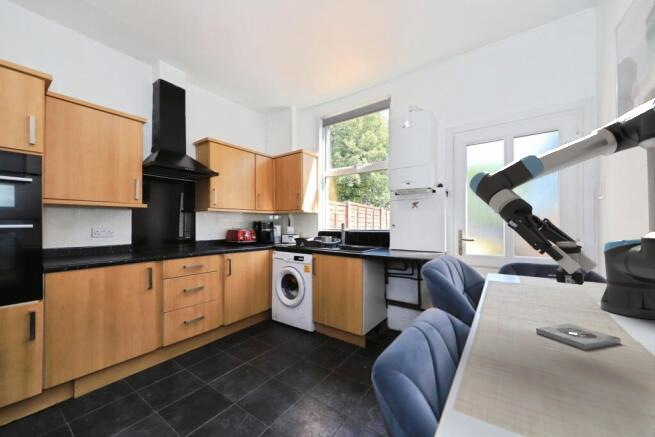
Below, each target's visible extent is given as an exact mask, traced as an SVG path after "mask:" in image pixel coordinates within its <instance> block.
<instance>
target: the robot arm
mask: <svg viewBox="0 0 655 437" xmlns="http://www.w3.org/2000/svg"><path fill="white" fill-rule="evenodd" d="M638 147H639V148H642V149H644V150H645V151H646V162H647V165H646V167H647V168H646V169H647V199H648V200H647V203H648V204H647V205H648V232H647V233H646V234H644V235H642V236H641V237H640V238H635V239H634V238H633V239H618V240H611V241H608V242H606V243H604V248H603V255H604V265H605V266H604V267H605V276H606V279H605V280H606V287H605V289H604V291H603V294H602V297H601V299H600V302H599V303H600V308H601V309H602V310H604V311H606V312H609V313H614V314H617V315H621V316H627V317H632V318H639V319H647V320H655V98H653V99H651V100H648V101H647V102H644V103H643V104H642V105H640V106H638V107H636V108H634V109H632V110H630V111H628V112H626V113H625V114H623V115H622V116H620V117H618V118H617V119H615V120H613V121H612V122H610V123H608V124H606V125H604V126H602V127H599V128H597V129H595V130H593V131H592V132H591V133H590V134H589V135H587V136H585V137H582V138H579V139H577V140H575V141H572V142H570V143H567V144H564V145H562V146H559V147H558V148H555V149H552V150H549V151H547V152H545V153H541V154H539V155H535V154H532V153H528V154H525V155H523V156H522V157H519V158H518V159H516V160H514V161H512V162H511V163H509V164H507V165H505V166H504V167H502V168H500V169H499V170H497V171H494V172H493V173H491V172H489V171H486V170H483V171H480V172H477V173H476V174H474V176H473V177H471V179H470V181H469V188H470V190H471V191H472V192H473V193H474V194H475V196H477V197H478V198H479V199H480V200H481V201H482V202H484V203H485V204H486V205H487V206H489V208H491V209H492V210H493V213H494V214H497V215H498V216H500V218H501V219H502V220H503V221H504V222H505V223H507V227H509V228H510V229H512V230H513V231H514V232H515V233H517V234H518V235H519V236H520V237H521V238H522V239H523V240H524V241H525V242H526V243H527V244H528V245H529V246H530V247H531V248H532V249H533V250H535V251H537V252H538V254H541V255H544V254H545V253H546V254H547V255H548V257H550V258H551V259H552V260H554V261H555V262H556V263H557V264H558V266H559V265H560V266H561V267H562V268H564V269H565V270H566V271H567V272H568V273H569V274H572V273H574V272H575V271H576V270H577V269H581V270H583V271H585V272H586V273H590V272H591V271H592V270H594V269H596V268H597V267H598V266H599V264H598V263H596V262H595V261H594V260H593V259H591V258H590V257H589V256H588V255H586V254H585V253H584V252H583V251H581V253H577V255H578V263H577V262H575V261H574V256H573V255H572V258H573V259H572V258H571V257H569V256H568V255H567V254H566V253H565V252H564V251H562V250H561V249H560V248H558V246H556V245H557V243H556V242H565V241H569V242H576V244H577V241H576V240H575V239H573V238H572V237H570V236H569V235H568V234H567V233H565V232H564V231H563V230H561V229H560V227H558V226H556V225H555V224H554V223H553V222H551V220H550V219H549V218H547V217H544V218H543V219H541V218H540V217H539V216H538V215H535V214H533V206H532V205H531V204H530V203H529V202H527V200H525V199H523V198H522V197H521V196H520V195H519V194H518V193H516V192H515V191H513V190H514V189H517V188H518V187H520V186H522V185H524V184H528V183H530V182H532V181H535V180H537V179H540V178H543V177H546V176H548V175H551V174H554V173H557V172H559V171H562V170H565V169H567V168H570V167H572V166H575V165H578V164H580V163H583V162H586V161H589V160H591V159H594V158H597V157H599V156H605V157H606V156H611V155H612V154H616V153H618V152H619V153H620V152H622V151H626V150H629V149H633V148H638ZM553 244H554V245H553ZM552 246H553V247H552ZM539 250H540V251H539ZM576 272H577V271H576Z"/></svg>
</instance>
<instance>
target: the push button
mask: <svg viewBox="0 0 655 437" xmlns="http://www.w3.org/2000/svg"><path fill="white" fill-rule="evenodd" d="M576 242H577V241H576ZM576 242H569V241H565V242H556V243H557V245H555V246H558V248H560V249H561V250H562V251H564V252H565V253H566V254H567V255H568V256H569V257H571V258H572V255H573V256H574V261H575V262H577V263H578V255H577V253H581V252H582V248H583V246H582V245H578V244H577V243H576ZM553 246H554V245H553ZM553 246H552V247H553ZM572 259H573V258H572ZM581 270H582V269H581V268H579V269H577V270H576V271H575V272H574V273H572V274H569V273H568V272H567V271H566V270H565V269H564V268H562V267H561V266H560V265H559V264H558V268H557V271H555V274H547V275H548V276H549V277H556V278H548V280H553V281H556V282H557V283H559V284H570V285H571V284H572V285H579V286H582V285H583V284H584V283H585V280H584V279H585V278H584V272H582V271H581Z"/></svg>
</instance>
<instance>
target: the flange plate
mask: <svg viewBox="0 0 655 437" xmlns="http://www.w3.org/2000/svg"><path fill="white" fill-rule="evenodd" d="M535 330H536V334H539V335H541V336H543V337H547V338H550V339H552V340H556V341H559V342H560V343H564V344H567V345H570V346H573V347H575V348H578V349H581V350H584V351H589V350H595V349H600V348H602V347H603V348H604V347H608V346H615V345H620V344H621V343H622V341H621V337H619V336H613V335H611V334H607V333H604V332H600V331H596V330H593V329H590V328H586V327H583V326H578V325H575V324H571V323H564V324H555V325H549V326H543V327H536V328H535Z"/></svg>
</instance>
